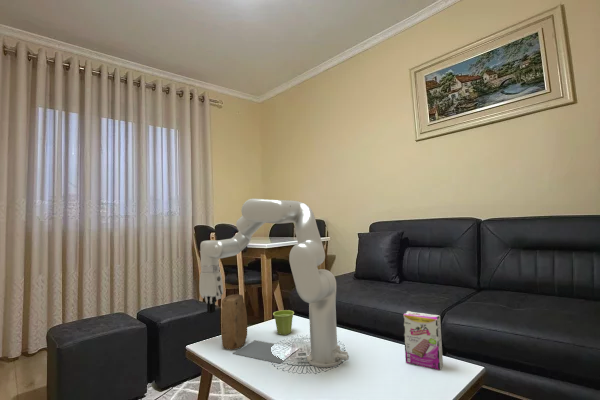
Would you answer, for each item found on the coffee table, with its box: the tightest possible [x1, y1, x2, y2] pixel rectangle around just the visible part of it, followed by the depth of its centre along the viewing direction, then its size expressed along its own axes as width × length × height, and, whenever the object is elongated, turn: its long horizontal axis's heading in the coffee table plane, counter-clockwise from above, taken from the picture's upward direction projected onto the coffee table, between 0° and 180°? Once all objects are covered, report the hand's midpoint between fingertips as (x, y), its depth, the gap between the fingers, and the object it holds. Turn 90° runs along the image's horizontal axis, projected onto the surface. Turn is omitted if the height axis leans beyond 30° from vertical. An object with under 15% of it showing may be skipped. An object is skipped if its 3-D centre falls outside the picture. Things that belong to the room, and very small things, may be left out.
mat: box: [232, 339, 284, 365], centre depth 125 cm, size 22×14×1 cm, turn 61°
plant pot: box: [272, 309, 295, 336], centre depth 144 cm, size 9×9×9 cm
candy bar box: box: [402, 310, 444, 371], centre depth 109 cm, size 11×5×16 cm, turn 56°
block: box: [220, 294, 248, 350], centre depth 133 cm, size 11×8×20 cm
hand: (211, 312), depth 139 cm, fingers closed
